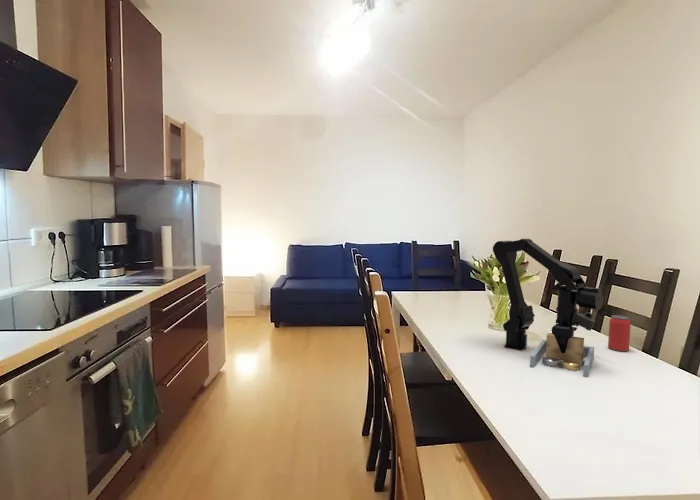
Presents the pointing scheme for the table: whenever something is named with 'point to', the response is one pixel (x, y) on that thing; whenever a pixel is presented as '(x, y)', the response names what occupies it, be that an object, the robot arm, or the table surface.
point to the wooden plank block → (572, 350)
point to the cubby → (587, 353)
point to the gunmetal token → (550, 361)
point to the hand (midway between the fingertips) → (564, 350)
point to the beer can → (619, 333)
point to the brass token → (571, 365)
